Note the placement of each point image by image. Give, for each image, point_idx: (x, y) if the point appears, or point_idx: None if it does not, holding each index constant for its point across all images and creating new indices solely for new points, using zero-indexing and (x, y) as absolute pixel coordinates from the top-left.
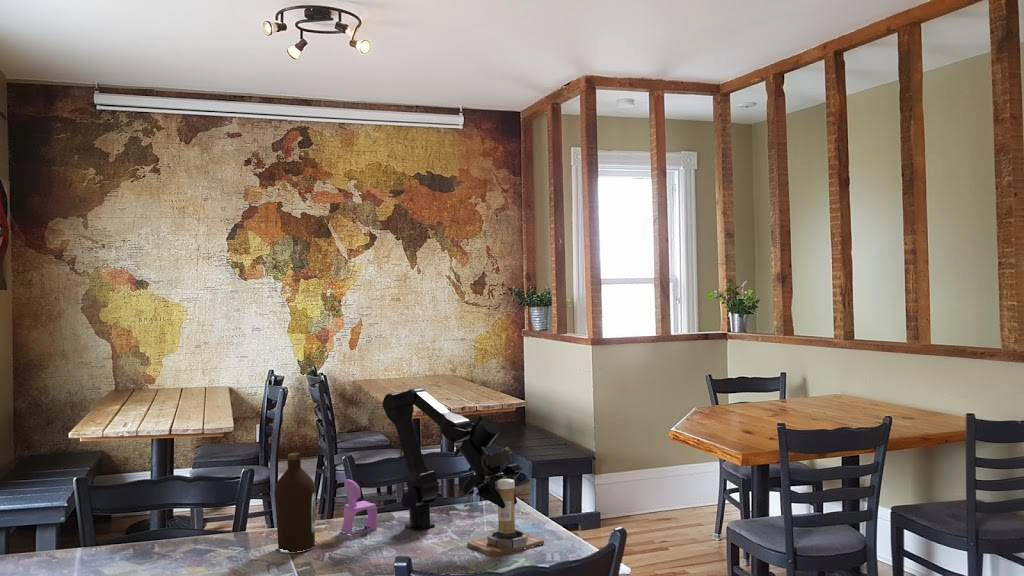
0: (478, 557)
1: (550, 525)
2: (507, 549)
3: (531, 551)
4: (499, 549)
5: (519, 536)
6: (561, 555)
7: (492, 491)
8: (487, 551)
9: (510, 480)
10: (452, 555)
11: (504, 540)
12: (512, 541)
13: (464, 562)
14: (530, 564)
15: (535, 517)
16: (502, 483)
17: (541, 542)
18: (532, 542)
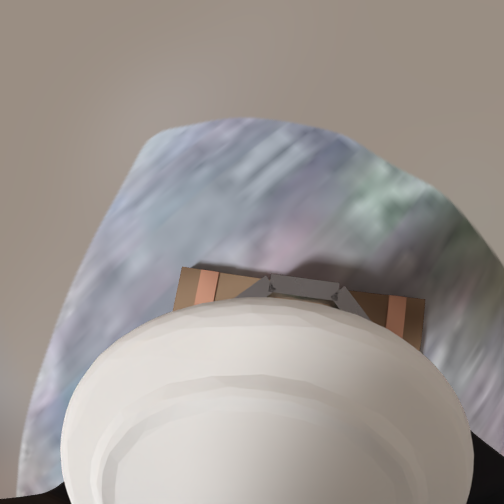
0: (451, 339)
1: (40, 387)
2: (362, 293)
3: (280, 246)
4: (383, 317)
5: None
6: (247, 148)
7: (491, 458)
8: (420, 340)
9: (167, 431)
10: (479, 416)
11: (364, 312)
12: (337, 288)
13: (500, 327)
14: (375, 157)
15: (28, 460)
16: (464, 426)
17: (194, 269)
18: (228, 283)
